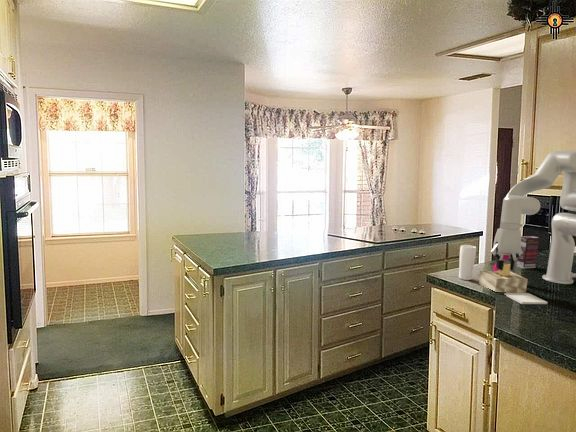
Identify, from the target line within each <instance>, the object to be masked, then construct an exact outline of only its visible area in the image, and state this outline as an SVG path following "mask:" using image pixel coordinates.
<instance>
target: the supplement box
mask: <svg viewBox="0 0 576 432" xmlns="http://www.w3.org/2000/svg"><path fill="white" fill-rule="evenodd" d="M539 245H540V237H538V236H534V235H531V236H530V235H527V236H526V235H524V236H522V235H521V250H522V251H523V253H522V254H521V255H520V256H519V257H518V258H517V259H516V267H518V268H520V269H535V268H536V267H537V262H538V260H537V259H538V252H539V251H538V250H539Z"/></svg>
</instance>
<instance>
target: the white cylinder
mask: <svg viewBox="0 0 576 432" xmlns="http://www.w3.org/2000/svg"><path fill="white" fill-rule="evenodd" d="M476 256H477V246H476V245H475V246H474V245H471V244H460V247H459V260H458V261H459V263H458V264H459V265H458V266H459V267H458V268H459V269H458V278H459V279H460V280H463V281H471V279H472V276H473V275H472V274H473V270H474V267H475V262H476Z"/></svg>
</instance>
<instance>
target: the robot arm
mask: <svg viewBox="0 0 576 432" xmlns="http://www.w3.org/2000/svg"><path fill="white" fill-rule="evenodd" d="M561 173H562V175H563V181H562V187H561V192H560V198H559V206H560V208H562V209H563V210H567V211H572V212H576V149H563V150H554V151H550V152H549V153H548V154H547V155H546V156H545V158H544V159H543V161H541V163H540V165H539V166H538V167H537V168H536V170H535V171H534V173H533V174H532V175H530V176H528V177H526V178H524V179H522V180H521V181H519V182H518V183H516V184H515V185H513V186H512V188H510V190H509V191H508V193H507V194H506V196H505V197H504V198H503V199H502V206H501V216H500V224H499V228H497V229H496V233H495V236H494V240H493V244H492V245H493V247H492V249H491V250H489V251H490V252H489V253H491V254H492V255H493V256H494V258H495V259H496V262H497V263H496V262H495V264H496V268H497V269H500V270H502V266H503V261H502V258H503V255H504V254H509V258H508V260H511V268H510V270H511V271H513V270H514V267H515V261H517V259H518V257H519V256H520V255H521V254H522V253H523V251H522V250H521V236H522V231H521V230H520V229H521V228H523V224H522V222H521V221H522V215H526V216H532V215H535V214H537V213H539V212H540V210H541V202H540V201H539V199H537V198H535V197H532V196H527V194H529V193H533V192H536V191H542V190H545V189H547V188H550V187H552V186H553V185H554V183H555V181H556V180H557V178H558V177H559V176H560V174H561ZM550 226H551V242H550V248H549V255H548V261H547V269H546V274H543V275H542V277H541V278H542V279H543V280H545V281H547V282H550V283H555V284H561V285H572V284H573V283H574V279H575V278H576V273H573V272H572V266H573V261H574V253H575V249H576V244H575V239H574V238H573V236H575V237H576V213H575V214H574V213H569V212H558V213H556V214H554V216H553V217H552V219H551V225H550Z"/></svg>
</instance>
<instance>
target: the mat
mask: <svg viewBox="0 0 576 432" xmlns="http://www.w3.org/2000/svg"><path fill="white" fill-rule="evenodd" d="M503 294H504V296H505V295H506V296H505V297H507V298H510V299H511V300H513V301H515V302H517V303H519V304H521V305H548V303H549V302H548V301H546V300H544V299H542V298H539V297H537V296H536V295H533V294H531V293H529V292H526V293H503Z"/></svg>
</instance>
